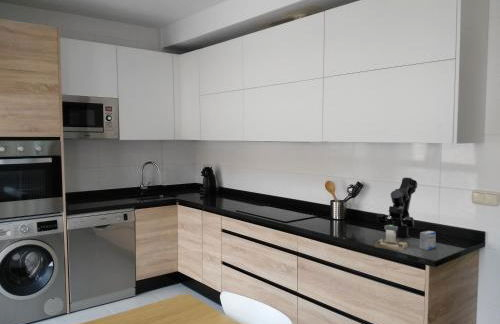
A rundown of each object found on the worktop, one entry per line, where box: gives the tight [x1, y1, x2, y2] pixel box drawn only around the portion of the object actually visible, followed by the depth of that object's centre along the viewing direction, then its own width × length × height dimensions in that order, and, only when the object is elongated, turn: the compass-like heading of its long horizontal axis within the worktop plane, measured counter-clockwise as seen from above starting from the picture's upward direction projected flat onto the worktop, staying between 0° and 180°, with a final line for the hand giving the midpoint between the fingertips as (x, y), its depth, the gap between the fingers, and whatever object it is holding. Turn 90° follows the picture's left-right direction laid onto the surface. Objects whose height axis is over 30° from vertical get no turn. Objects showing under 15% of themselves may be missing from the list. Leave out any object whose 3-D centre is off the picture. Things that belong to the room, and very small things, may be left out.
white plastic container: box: [384, 224, 398, 242], centre depth 203 cm, size 5×6×9 cm
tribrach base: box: [374, 236, 409, 252], centre depth 205 cm, size 12×14×5 cm
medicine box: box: [419, 230, 437, 251], centre depth 203 cm, size 8×4×9 cm, turn 126°
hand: (392, 232), depth 206 cm, fingers closed, pressing on white plastic container
